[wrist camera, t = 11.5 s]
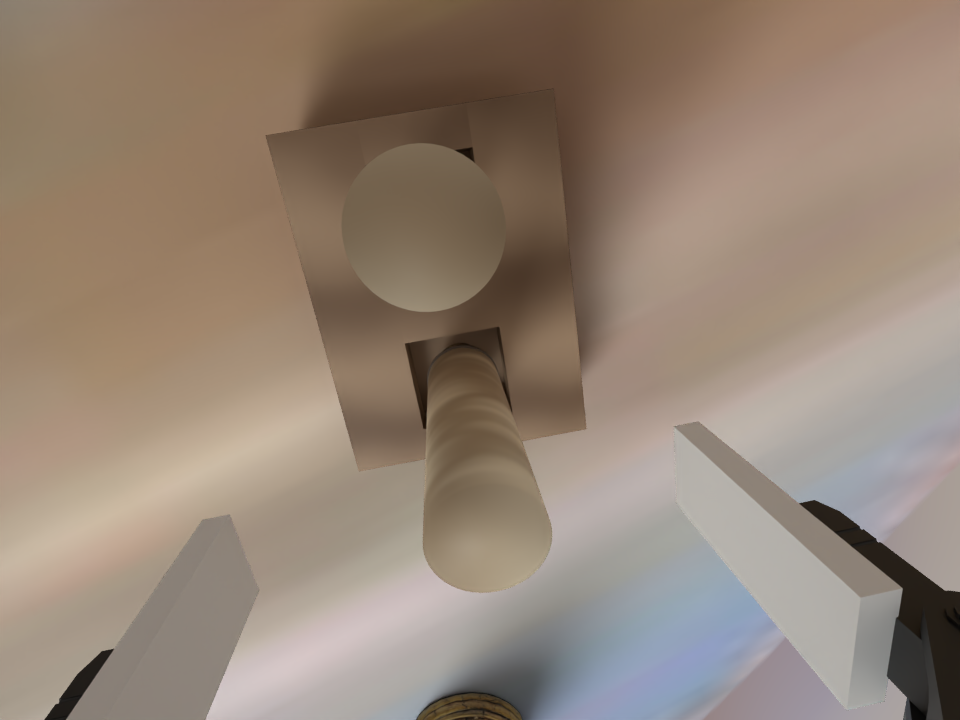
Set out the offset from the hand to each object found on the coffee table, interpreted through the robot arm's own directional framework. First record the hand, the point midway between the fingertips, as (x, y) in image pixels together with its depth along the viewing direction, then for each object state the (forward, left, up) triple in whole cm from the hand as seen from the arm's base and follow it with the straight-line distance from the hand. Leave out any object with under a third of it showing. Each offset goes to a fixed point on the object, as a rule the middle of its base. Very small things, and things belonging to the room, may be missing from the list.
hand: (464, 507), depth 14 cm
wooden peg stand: (+4, 0, -15) cm, 15 cm away
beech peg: (0, -1, -12) cm, 12 cm away
